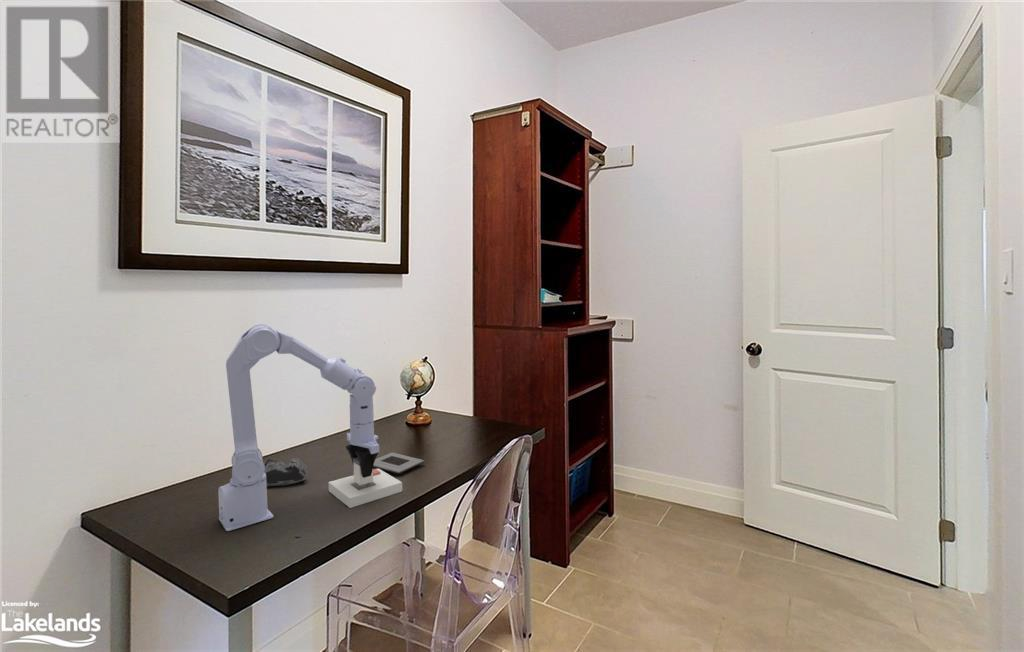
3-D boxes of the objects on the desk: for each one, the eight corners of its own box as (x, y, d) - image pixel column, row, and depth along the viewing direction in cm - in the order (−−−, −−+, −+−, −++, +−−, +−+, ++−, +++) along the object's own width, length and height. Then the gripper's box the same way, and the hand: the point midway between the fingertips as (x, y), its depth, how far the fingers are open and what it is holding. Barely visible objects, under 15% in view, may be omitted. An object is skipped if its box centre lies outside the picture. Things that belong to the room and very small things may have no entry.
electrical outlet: (424, 467, 142) (424, 459, 141) (398, 479, 133) (398, 470, 132) (392, 459, 148) (392, 451, 148) (365, 469, 139) (365, 461, 139)
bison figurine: (307, 486, 128) (311, 470, 137) (306, 460, 127) (310, 447, 136) (257, 492, 124) (265, 475, 134) (256, 466, 123) (263, 451, 133)
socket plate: (349, 508, 114) (349, 495, 114) (328, 491, 124) (328, 479, 124) (402, 491, 124) (402, 480, 123) (378, 476, 133) (378, 466, 133)
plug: (359, 485, 120) (359, 462, 119) (353, 481, 122) (353, 458, 122) (373, 481, 122) (372, 458, 122) (366, 477, 125) (366, 455, 124)
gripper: (390, 424, 118) (391, 478, 119) (364, 413, 129) (365, 462, 130) (363, 430, 114) (364, 485, 115) (338, 418, 124) (339, 469, 125)
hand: (363, 474), depth 122 cm, fingers closed on plug, 3 cm apart
